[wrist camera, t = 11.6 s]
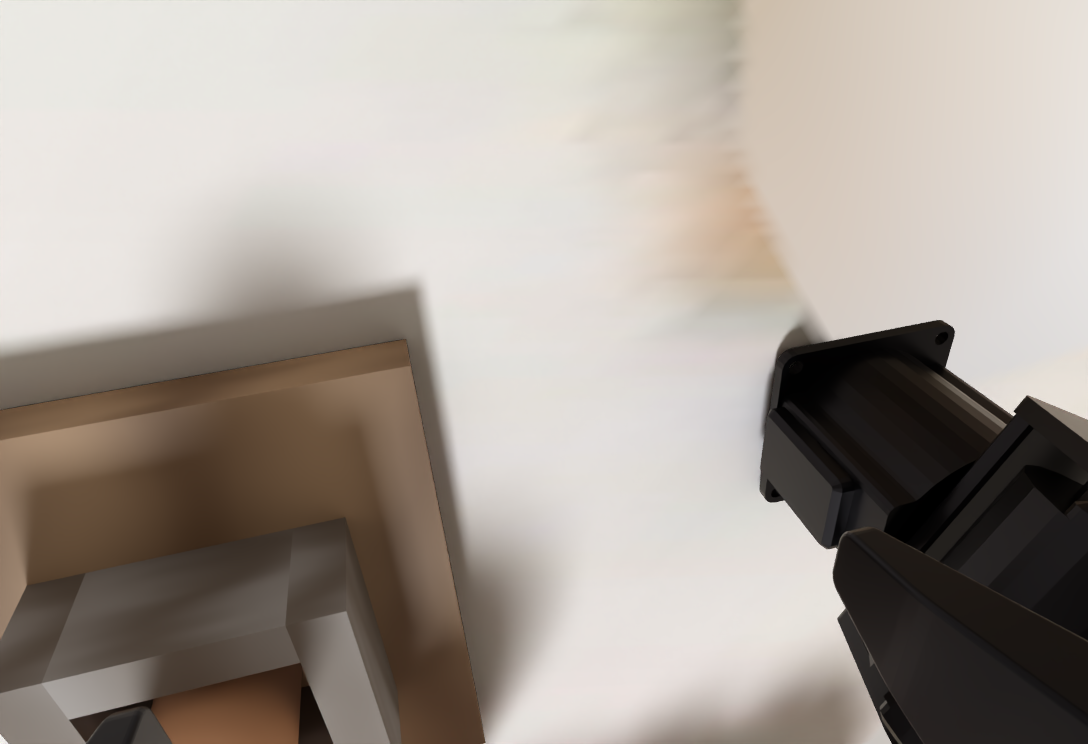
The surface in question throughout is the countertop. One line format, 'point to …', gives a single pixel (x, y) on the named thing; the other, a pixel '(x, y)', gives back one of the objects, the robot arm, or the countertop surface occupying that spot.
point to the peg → (236, 710)
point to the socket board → (232, 552)
